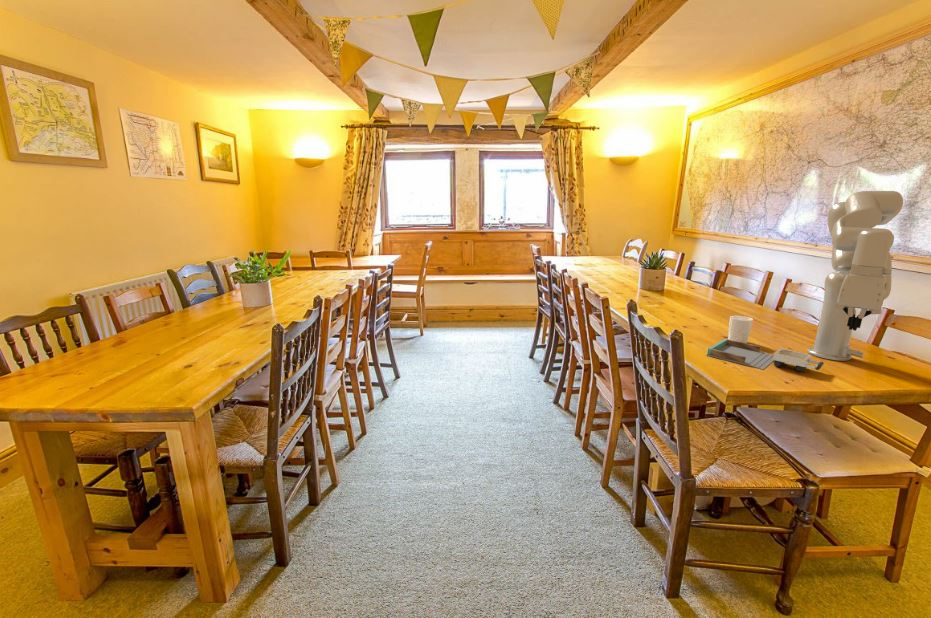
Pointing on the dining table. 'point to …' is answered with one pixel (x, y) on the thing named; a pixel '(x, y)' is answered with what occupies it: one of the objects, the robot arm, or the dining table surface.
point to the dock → (740, 353)
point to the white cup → (739, 328)
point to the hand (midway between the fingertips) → (852, 329)
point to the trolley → (795, 359)
